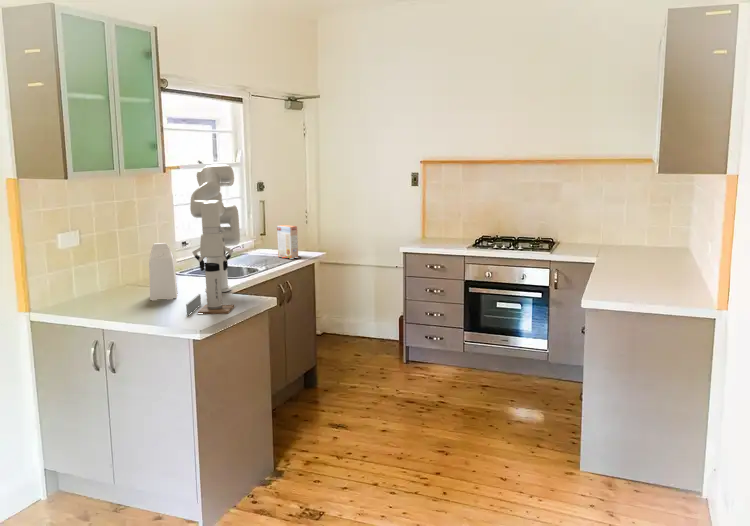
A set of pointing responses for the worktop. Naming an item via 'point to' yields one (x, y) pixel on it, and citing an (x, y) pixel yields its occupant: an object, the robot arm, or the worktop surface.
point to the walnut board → (223, 310)
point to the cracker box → (287, 241)
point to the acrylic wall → (193, 304)
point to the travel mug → (213, 286)
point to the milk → (162, 273)
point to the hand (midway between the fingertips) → (214, 270)
